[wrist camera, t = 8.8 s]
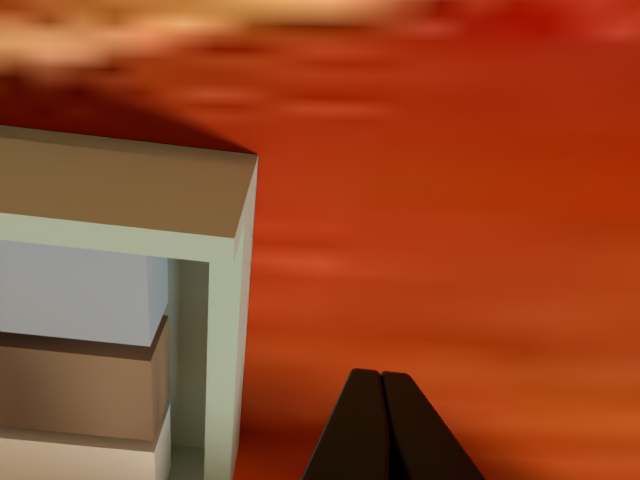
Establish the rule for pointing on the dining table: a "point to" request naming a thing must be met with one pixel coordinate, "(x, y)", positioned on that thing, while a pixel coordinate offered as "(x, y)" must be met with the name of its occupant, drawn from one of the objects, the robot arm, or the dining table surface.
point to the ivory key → (84, 455)
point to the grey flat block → (81, 293)
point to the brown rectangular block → (84, 384)
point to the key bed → (161, 241)
